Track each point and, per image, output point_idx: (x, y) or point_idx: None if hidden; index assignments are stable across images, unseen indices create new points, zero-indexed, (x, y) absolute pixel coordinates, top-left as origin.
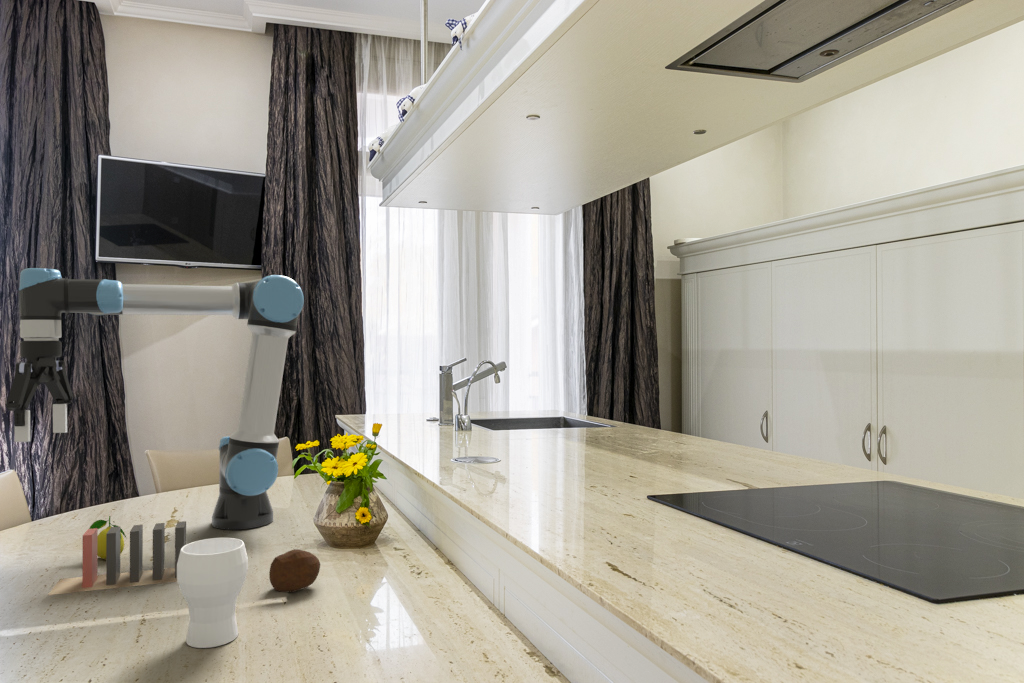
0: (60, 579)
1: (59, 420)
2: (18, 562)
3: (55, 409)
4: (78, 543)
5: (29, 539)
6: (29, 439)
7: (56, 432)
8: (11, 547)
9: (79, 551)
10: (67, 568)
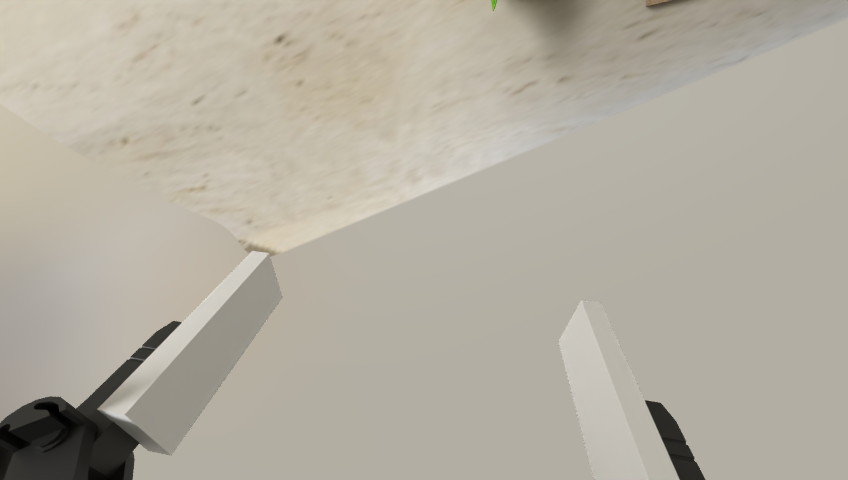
0: (653, 2)
1: (235, 326)
2: (462, 163)
3: (193, 406)
4: (351, 105)
5: (331, 202)
6: (592, 309)
7: (277, 287)
8: (375, 209)
9: (406, 76)
10: (528, 44)
